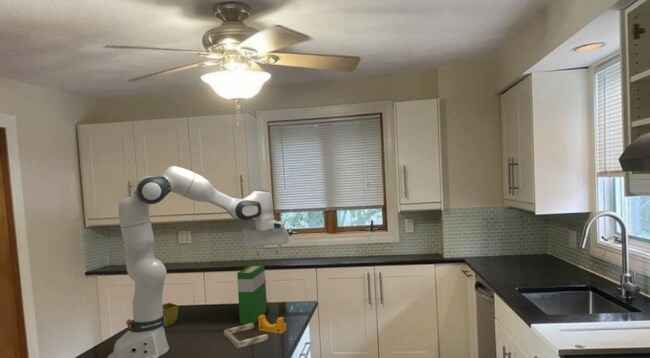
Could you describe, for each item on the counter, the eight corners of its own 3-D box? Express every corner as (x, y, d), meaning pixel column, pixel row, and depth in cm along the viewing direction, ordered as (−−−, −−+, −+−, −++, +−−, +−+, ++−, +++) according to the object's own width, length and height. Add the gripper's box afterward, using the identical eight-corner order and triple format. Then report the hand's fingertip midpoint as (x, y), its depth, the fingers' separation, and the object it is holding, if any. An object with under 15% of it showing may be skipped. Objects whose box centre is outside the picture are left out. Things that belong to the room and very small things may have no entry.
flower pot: (163, 329, 186) (162, 310, 186) (153, 326, 191) (152, 307, 191) (179, 323, 193) (178, 305, 193) (169, 320, 198) (168, 302, 198)
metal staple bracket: (237, 348, 161) (236, 343, 161) (223, 334, 176) (223, 330, 176) (268, 339, 168) (267, 335, 168) (252, 327, 183) (252, 322, 183)
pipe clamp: (286, 330, 177) (285, 316, 177) (281, 334, 174) (280, 319, 174) (264, 327, 183) (263, 313, 183) (259, 330, 179) (258, 316, 179)
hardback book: (252, 310, 206) (250, 264, 206) (266, 310, 205) (264, 264, 205) (239, 323, 189) (237, 273, 189) (254, 323, 188) (252, 272, 188)
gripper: (241, 228, 178) (243, 258, 178) (286, 224, 179) (289, 254, 179) (243, 226, 184) (246, 255, 185) (287, 222, 185) (290, 251, 185)
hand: (267, 254), depth 182 cm, fingers open, 8 cm apart
